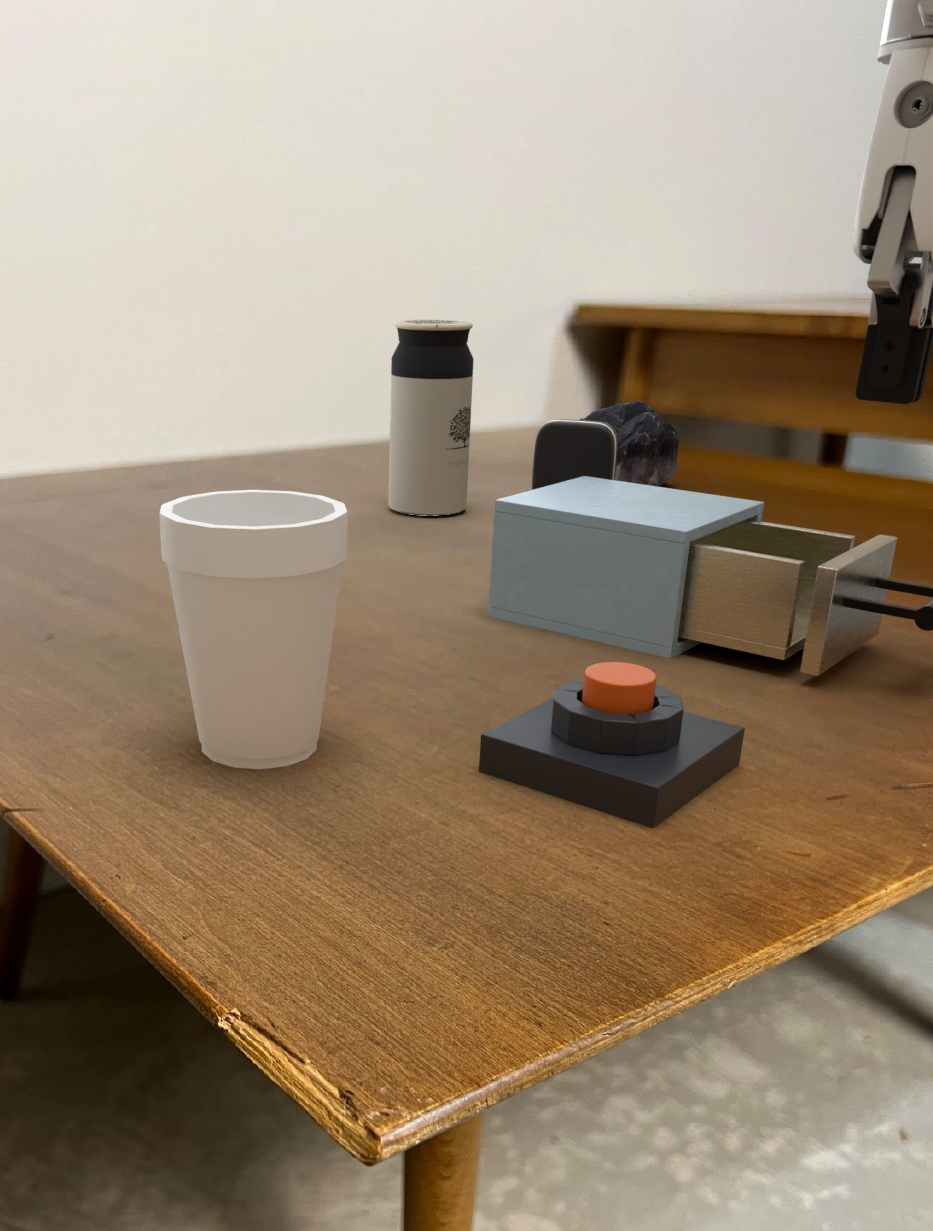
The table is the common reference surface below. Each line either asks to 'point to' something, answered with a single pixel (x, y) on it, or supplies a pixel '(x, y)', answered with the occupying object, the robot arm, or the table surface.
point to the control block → (613, 754)
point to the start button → (619, 687)
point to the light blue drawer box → (603, 559)
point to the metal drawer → (792, 592)
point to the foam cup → (255, 616)
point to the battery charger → (574, 451)
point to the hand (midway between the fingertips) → (887, 399)
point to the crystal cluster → (641, 443)
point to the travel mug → (430, 417)
